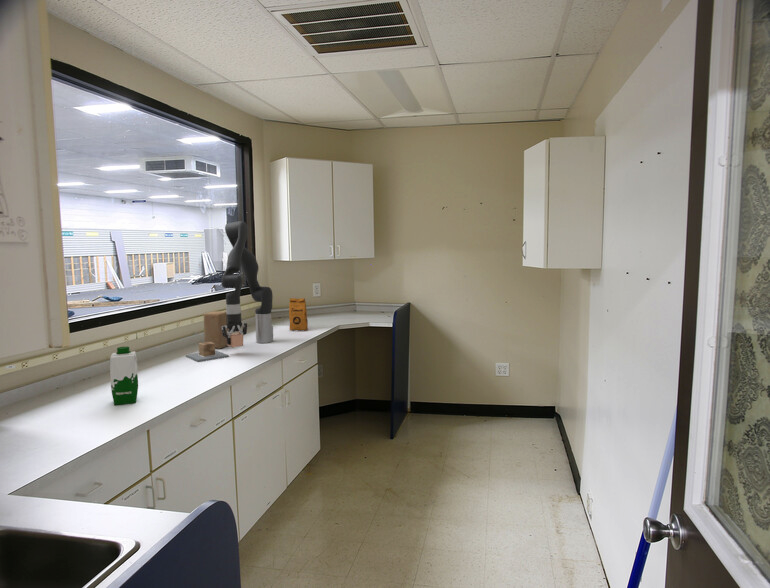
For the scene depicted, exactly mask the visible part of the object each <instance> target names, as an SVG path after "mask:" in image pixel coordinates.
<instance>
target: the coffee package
mask: <svg viewBox="0 0 770 588" xmlns="http://www.w3.org/2000/svg"><path fill="white" fill-rule="evenodd" d="M306 304H307V303H306V299H305V297H303V298H293V297H292V298H289V306H288V307H289V309H288V314H289V315H288V317H289V328H288V329H289V331H294V330H298V331H297V332H302V331H301V330H306V331H307V329H309V327H308V326H309V325H308V323H309V321H308V315H307V313H308V311H307V305H306Z"/></svg>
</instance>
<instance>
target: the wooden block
mask: <svg viewBox="0 0 770 588" xmlns="http://www.w3.org/2000/svg"><path fill="white" fill-rule="evenodd" d="M225 325H227V318H226V311H221V310H220V311H217V310H213V311H208V312H205V313H203V330H204V331H203V333H204V334H203V336H204V343H205V342H212V343H215V350H220V349H223V348H226V347H229V346H228V344H227V338H226V337H223V334H222V329H221V326H225ZM227 331H228V328H226V333H227Z"/></svg>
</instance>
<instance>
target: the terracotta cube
mask: <svg viewBox="0 0 770 588" xmlns="http://www.w3.org/2000/svg"><path fill="white" fill-rule="evenodd" d="M230 338H231V345H228V346H227V347H230V348H237V347H242V346H244V335H243V334H240V333H238V332H233V333H232V334H231V337H230Z"/></svg>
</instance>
